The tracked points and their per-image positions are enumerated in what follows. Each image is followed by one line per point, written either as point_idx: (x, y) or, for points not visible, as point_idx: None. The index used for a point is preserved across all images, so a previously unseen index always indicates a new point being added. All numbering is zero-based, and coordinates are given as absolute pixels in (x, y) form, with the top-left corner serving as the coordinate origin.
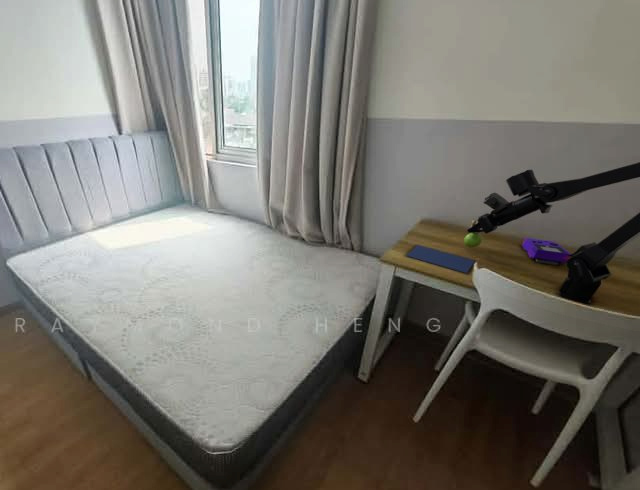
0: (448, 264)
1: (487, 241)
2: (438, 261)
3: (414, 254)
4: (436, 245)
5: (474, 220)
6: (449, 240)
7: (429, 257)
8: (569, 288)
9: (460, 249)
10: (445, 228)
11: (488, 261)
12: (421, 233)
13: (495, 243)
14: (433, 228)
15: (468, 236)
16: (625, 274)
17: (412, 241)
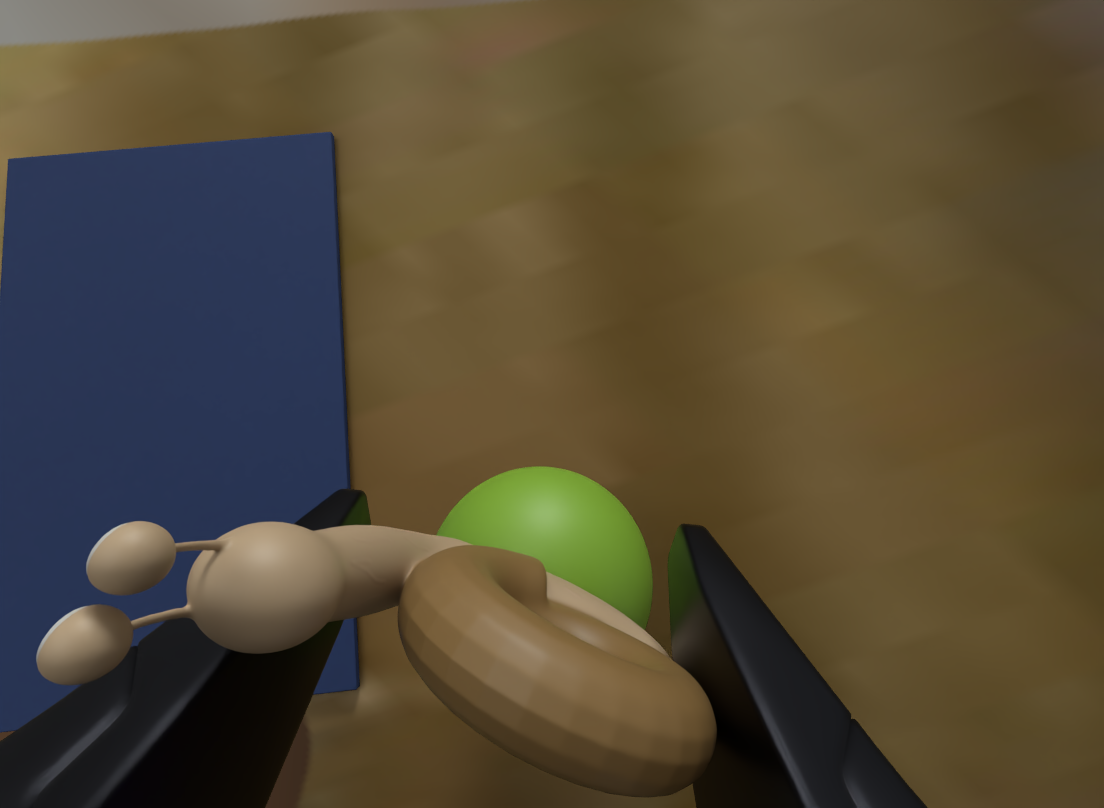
0: (64, 523)
1: (1019, 602)
2: (69, 425)
3: (81, 200)
4: (486, 260)
5: (234, 590)
6: (719, 302)
7: (109, 327)
8: None
9: (565, 468)
10: (1018, 154)
11: (460, 796)
12: (684, 44)
13: (1034, 688)
14: (915, 72)
15: (457, 525)
16: None
17: (413, 65)
